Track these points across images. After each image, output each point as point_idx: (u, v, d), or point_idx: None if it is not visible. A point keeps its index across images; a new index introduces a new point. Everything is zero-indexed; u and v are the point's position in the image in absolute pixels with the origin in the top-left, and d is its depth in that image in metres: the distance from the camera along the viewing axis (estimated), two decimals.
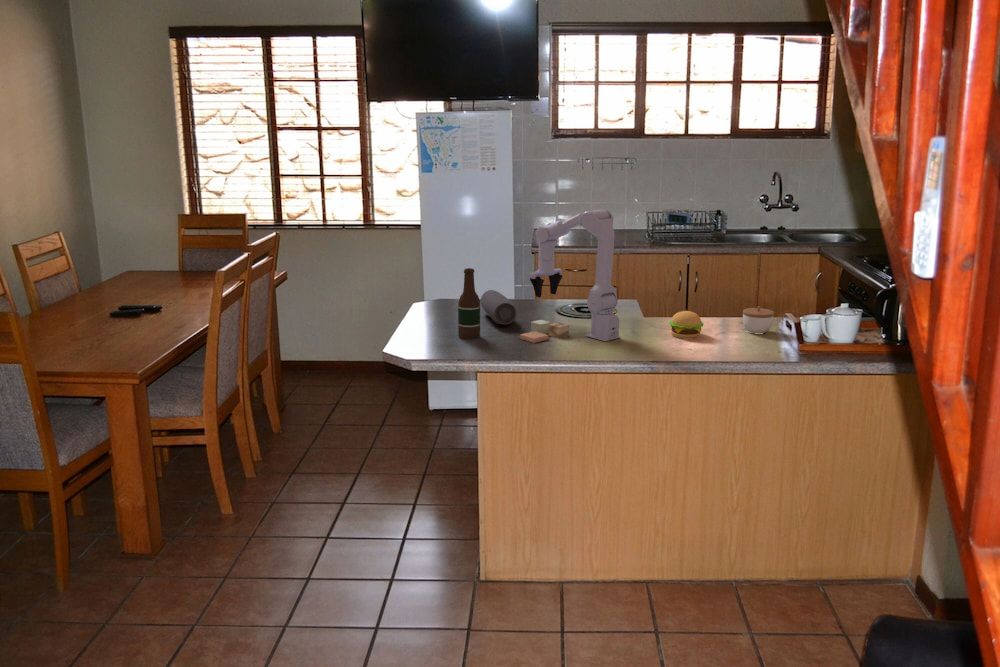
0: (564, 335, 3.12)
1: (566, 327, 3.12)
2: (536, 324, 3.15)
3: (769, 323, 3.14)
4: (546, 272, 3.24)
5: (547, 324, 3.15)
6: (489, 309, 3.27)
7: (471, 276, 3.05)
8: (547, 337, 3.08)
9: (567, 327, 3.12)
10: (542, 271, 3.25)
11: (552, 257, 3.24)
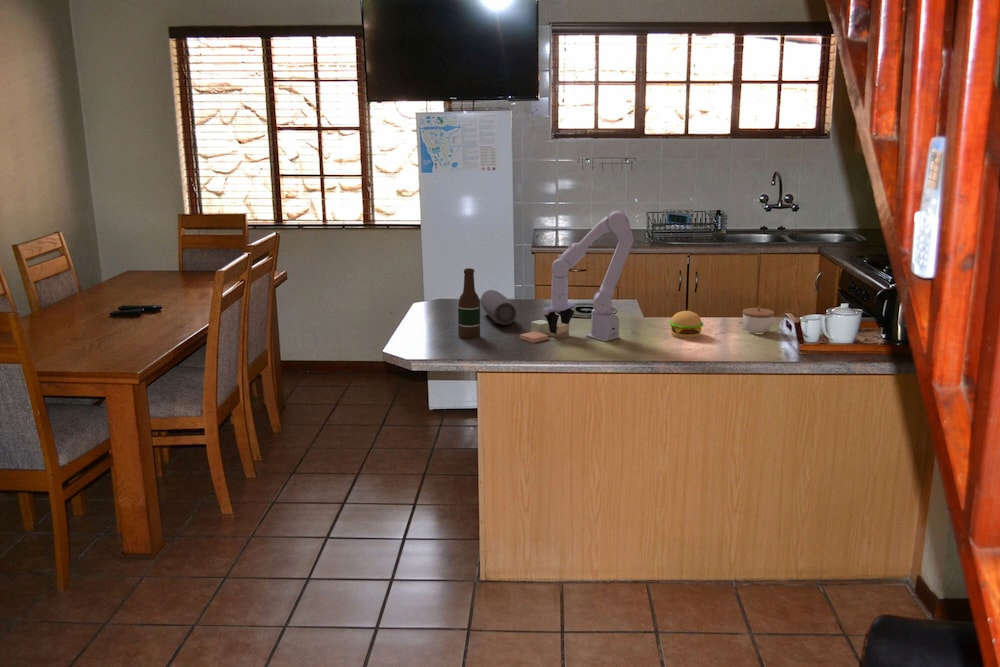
0: (564, 335, 3.12)
1: (566, 327, 3.12)
2: (536, 324, 3.15)
3: (769, 323, 3.14)
4: (559, 307, 3.08)
5: (547, 324, 3.15)
6: (489, 309, 3.27)
7: (471, 276, 3.05)
8: (547, 337, 3.08)
9: (567, 326, 3.12)
10: (555, 306, 3.08)
11: (567, 291, 3.09)
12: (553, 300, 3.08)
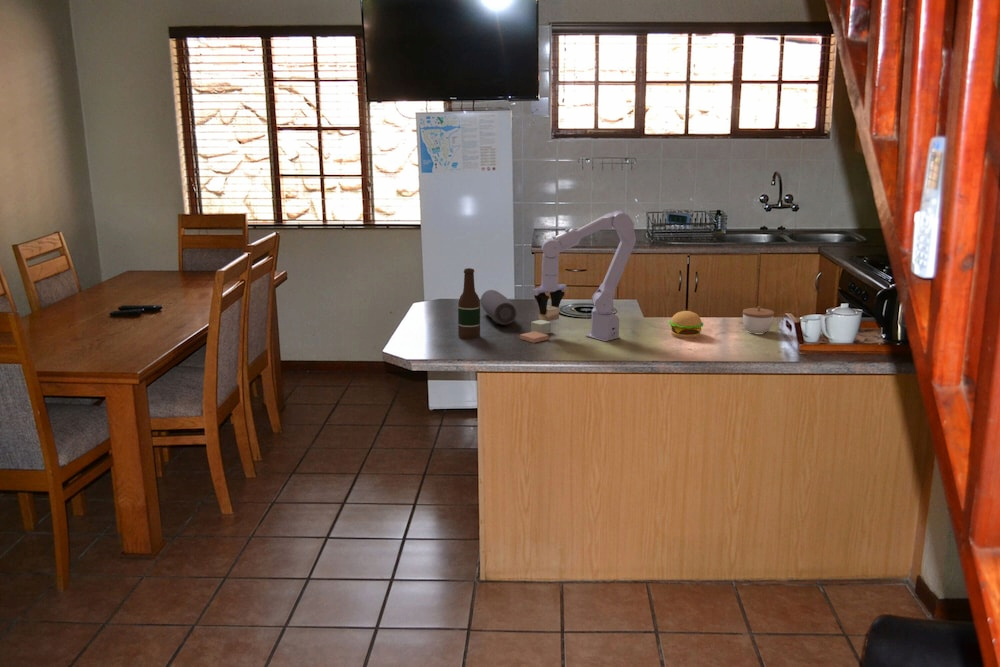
0: (554, 318, 3.08)
1: (556, 310, 3.08)
2: (536, 324, 3.15)
3: (769, 323, 3.14)
4: (549, 288, 3.04)
5: (547, 324, 3.15)
6: (489, 309, 3.27)
7: (471, 276, 3.05)
8: (547, 337, 3.08)
9: (558, 310, 3.09)
10: (545, 287, 3.05)
11: None
12: (543, 281, 3.05)
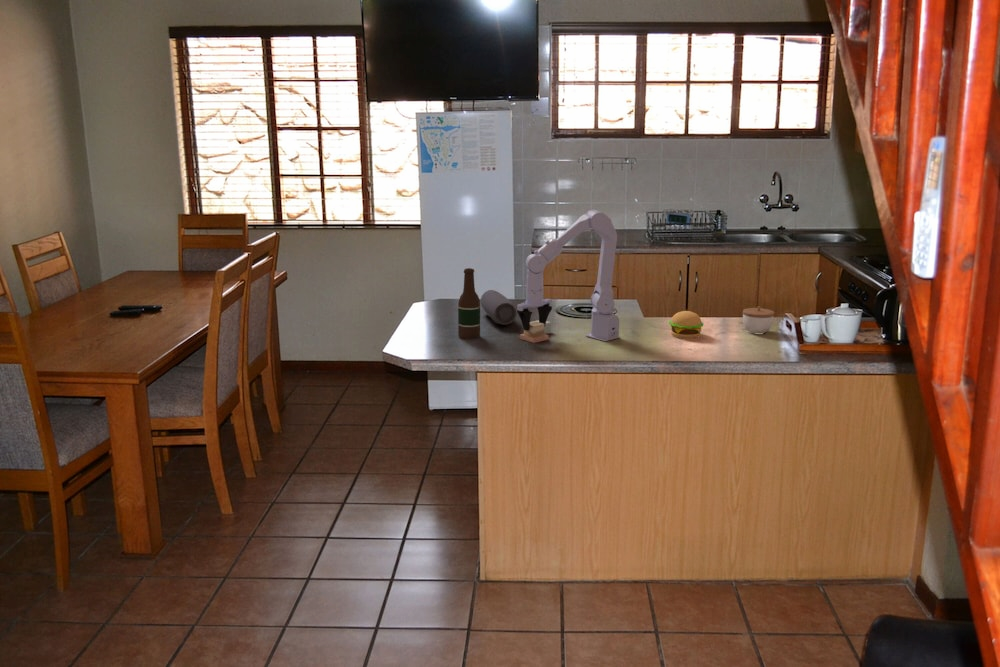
0: (539, 334, 3.07)
1: (541, 326, 3.06)
2: None
3: (769, 323, 3.14)
4: (534, 304, 3.02)
5: (547, 324, 3.15)
6: (489, 309, 3.27)
7: (471, 276, 3.05)
8: (547, 337, 3.08)
9: (543, 326, 3.07)
10: (530, 302, 3.03)
11: None
12: (528, 296, 3.03)
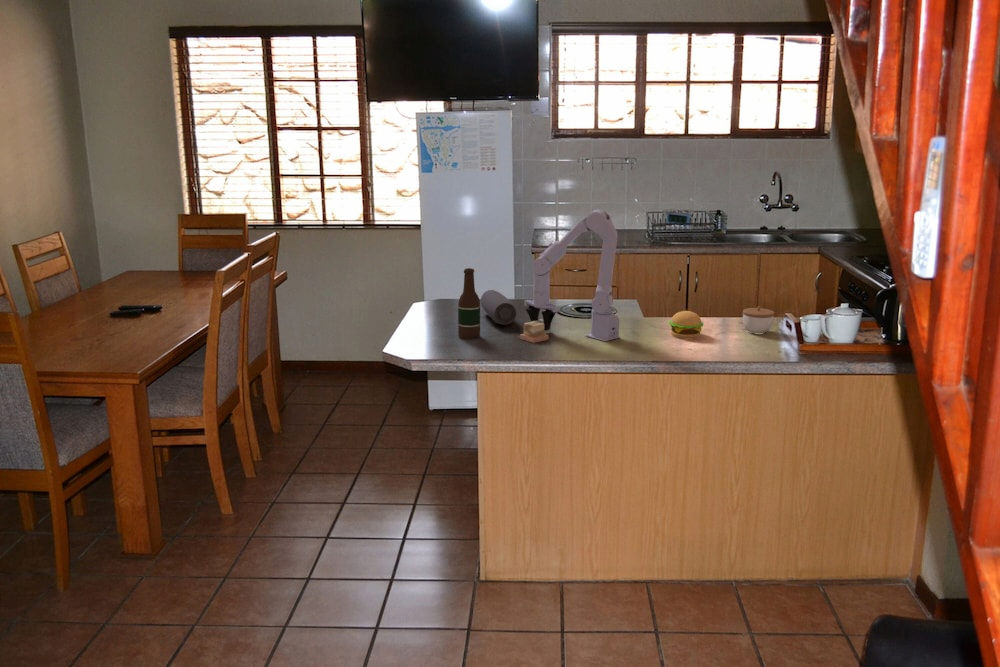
0: (539, 334, 3.07)
1: (541, 326, 3.06)
2: None
3: (769, 323, 3.14)
4: (532, 303, 3.14)
5: None
6: (489, 309, 3.27)
7: (471, 276, 3.05)
8: (547, 337, 3.08)
9: (543, 326, 3.07)
10: None
11: (549, 288, 3.13)
12: None
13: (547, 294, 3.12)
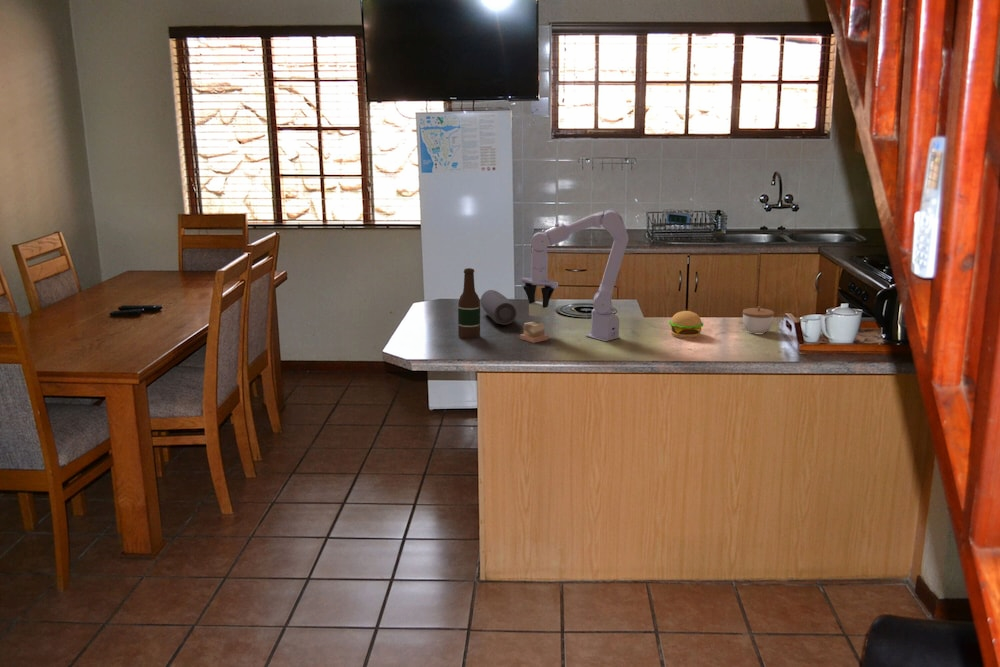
0: (539, 334, 3.07)
1: (541, 326, 3.06)
2: (535, 306, 3.09)
3: (769, 323, 3.14)
4: (530, 280, 3.08)
5: None
6: (489, 309, 3.27)
7: (471, 276, 3.05)
8: (547, 337, 3.08)
9: (543, 326, 3.07)
10: None
11: None
12: None
13: (546, 270, 3.06)
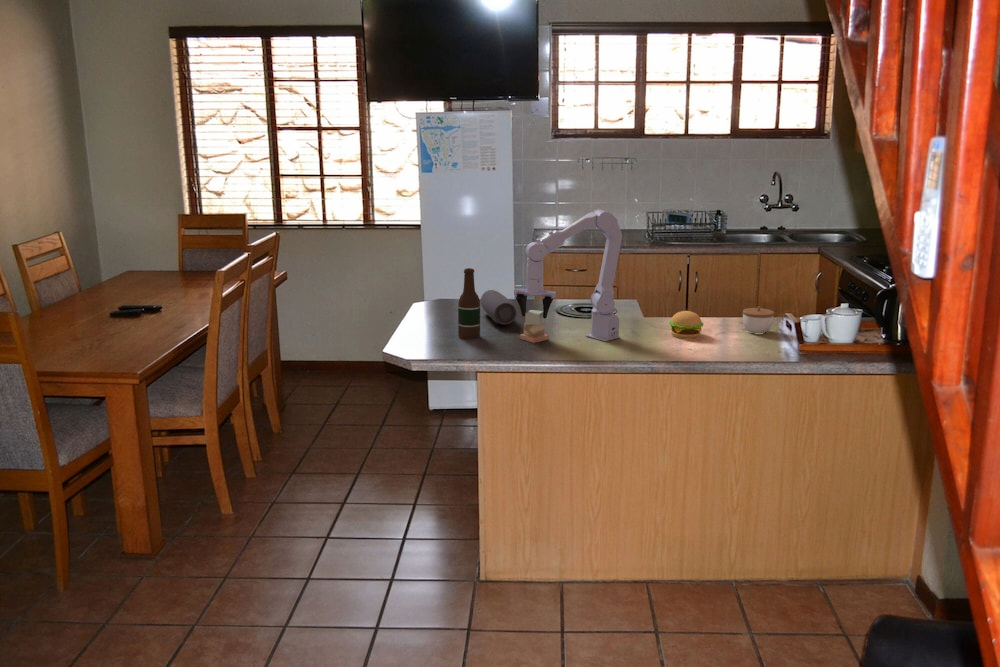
0: (539, 334, 3.07)
1: (541, 326, 3.06)
2: (533, 314, 3.04)
3: (769, 323, 3.14)
4: (526, 291, 3.03)
5: (542, 313, 3.06)
6: (489, 309, 3.27)
7: (471, 276, 3.05)
8: (547, 337, 3.08)
9: (543, 326, 3.07)
10: (526, 289, 3.04)
11: None
12: None
13: (542, 280, 3.02)
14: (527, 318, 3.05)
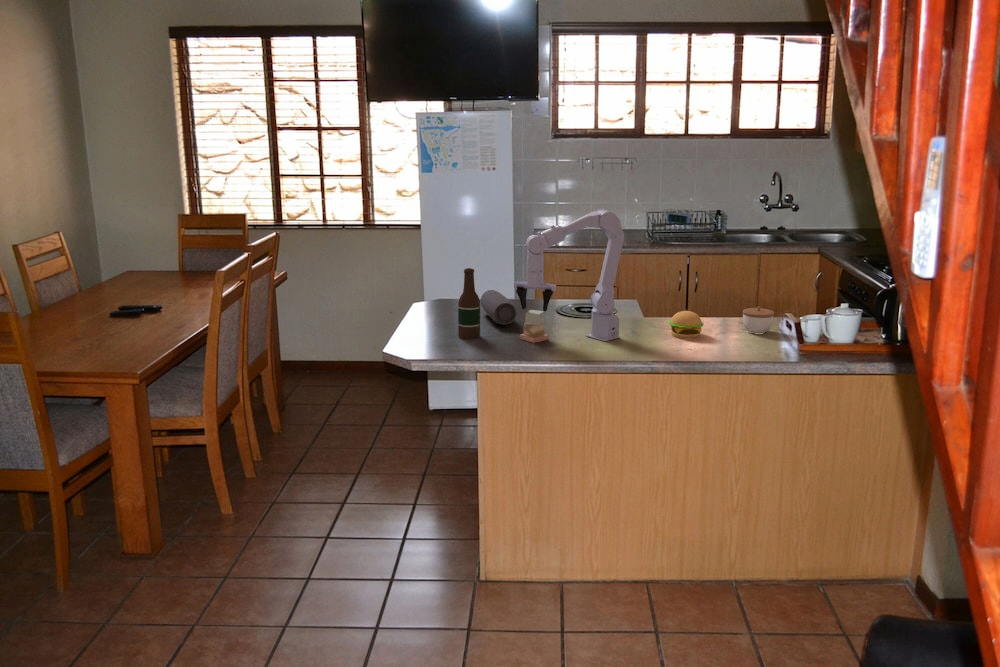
0: (539, 334, 3.07)
1: (541, 326, 3.06)
2: (533, 314, 3.04)
3: (769, 323, 3.14)
4: (526, 284, 3.02)
5: (542, 313, 3.06)
6: (489, 309, 3.27)
7: (471, 276, 3.05)
8: (547, 337, 3.08)
9: (543, 326, 3.07)
10: (526, 282, 3.04)
11: None
12: None
13: (543, 273, 3.02)
14: (527, 318, 3.05)
